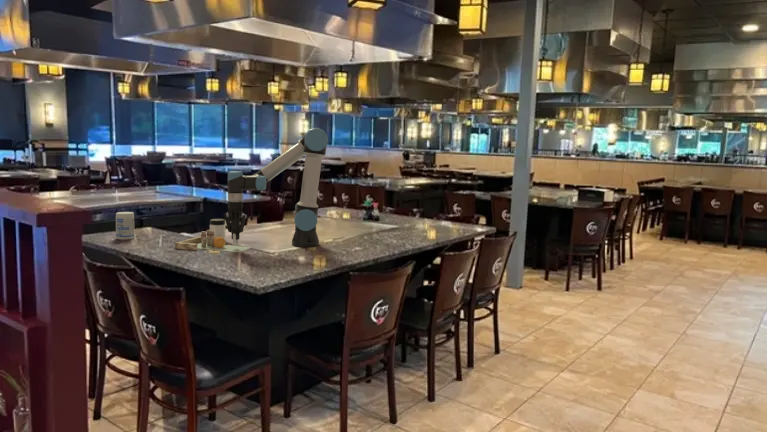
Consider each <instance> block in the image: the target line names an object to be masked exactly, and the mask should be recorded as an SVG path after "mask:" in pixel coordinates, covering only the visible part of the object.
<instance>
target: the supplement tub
mask: <svg viewBox="0 0 767 432" xmlns="http://www.w3.org/2000/svg"><path fill="white" fill-rule="evenodd" d="M115 238H116V239H117V240H121V241H126V240H127V241H128V240H133V239H135V213H134V212H133V211H119V212H116V213H115Z"/></svg>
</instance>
